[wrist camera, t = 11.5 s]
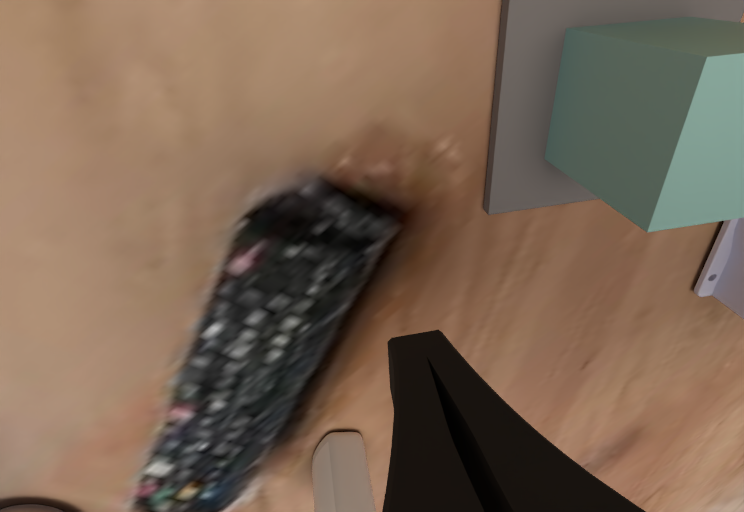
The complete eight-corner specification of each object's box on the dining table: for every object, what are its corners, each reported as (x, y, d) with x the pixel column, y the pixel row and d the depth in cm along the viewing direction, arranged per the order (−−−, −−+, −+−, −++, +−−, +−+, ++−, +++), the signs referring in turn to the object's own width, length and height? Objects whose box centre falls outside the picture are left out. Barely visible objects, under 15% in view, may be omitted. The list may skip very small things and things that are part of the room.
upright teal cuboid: (650, 145, 20) (788, 210, 15) (544, 158, 19) (647, 232, 14) (690, 16, 17) (880, 38, 12) (566, 28, 17) (707, 57, 11)
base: (671, 182, 22) (680, 186, 22) (483, 209, 21) (488, 214, 21) (755, -61, 17) (770, -62, 16) (506, -42, 15) (513, -42, 15)
